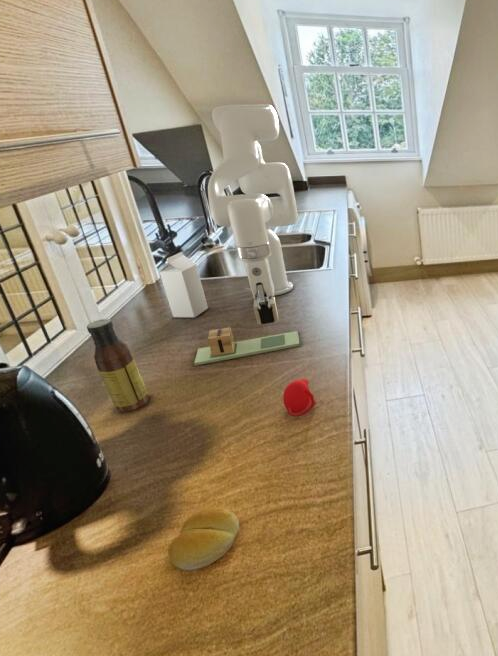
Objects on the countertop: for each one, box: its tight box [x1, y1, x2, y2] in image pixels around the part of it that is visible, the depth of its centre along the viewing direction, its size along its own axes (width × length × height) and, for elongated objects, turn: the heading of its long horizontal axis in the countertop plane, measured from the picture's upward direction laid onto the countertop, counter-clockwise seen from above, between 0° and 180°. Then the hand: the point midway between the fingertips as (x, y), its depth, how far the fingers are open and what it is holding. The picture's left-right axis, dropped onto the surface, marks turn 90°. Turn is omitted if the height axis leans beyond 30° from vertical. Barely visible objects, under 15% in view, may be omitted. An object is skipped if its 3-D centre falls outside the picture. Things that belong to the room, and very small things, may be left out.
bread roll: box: [167, 506, 240, 571], centre depth 64 cm, size 8×9×4 cm
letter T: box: [253, 296, 279, 325], centre depth 117 cm, size 5×5×5 cm
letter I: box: [207, 326, 236, 357], centre depth 116 cm, size 5×5×5 cm
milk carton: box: [159, 251, 209, 318], centre depth 138 cm, size 7×7×19 cm
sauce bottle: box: [86, 318, 150, 412], centre depth 93 cm, size 7×6×20 cm
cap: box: [282, 378, 317, 417], centre depth 93 cm, size 8×6×6 cm
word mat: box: [193, 330, 300, 366], centre depth 119 cm, size 8×25×1 cm, turn 110°
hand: (267, 317), depth 118 cm, fingers closed on letter T, 5 cm apart
